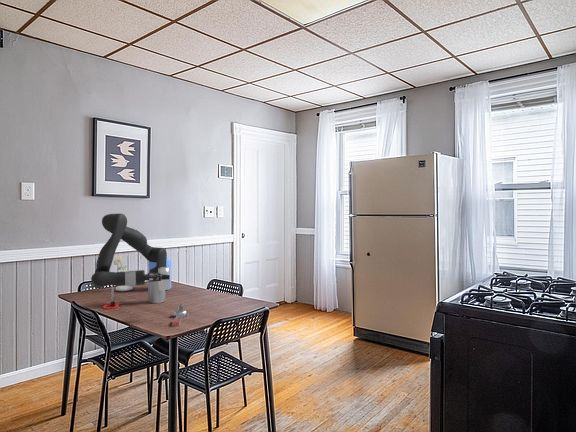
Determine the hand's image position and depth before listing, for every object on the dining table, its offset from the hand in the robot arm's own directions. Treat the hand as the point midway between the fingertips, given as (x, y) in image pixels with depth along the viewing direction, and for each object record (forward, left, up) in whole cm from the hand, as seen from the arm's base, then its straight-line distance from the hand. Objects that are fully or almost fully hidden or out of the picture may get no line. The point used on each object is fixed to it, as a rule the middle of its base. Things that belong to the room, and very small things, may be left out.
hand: (168, 276), depth 218 cm
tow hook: (-45, +5, -22) cm, 50 cm away
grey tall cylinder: (-2, -2, -7) cm, 7 cm away
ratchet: (+8, -2, -22) cm, 23 cm away
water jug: (-55, +59, -22) cm, 83 cm away
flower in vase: (-74, +44, -22) cm, 89 cm away
